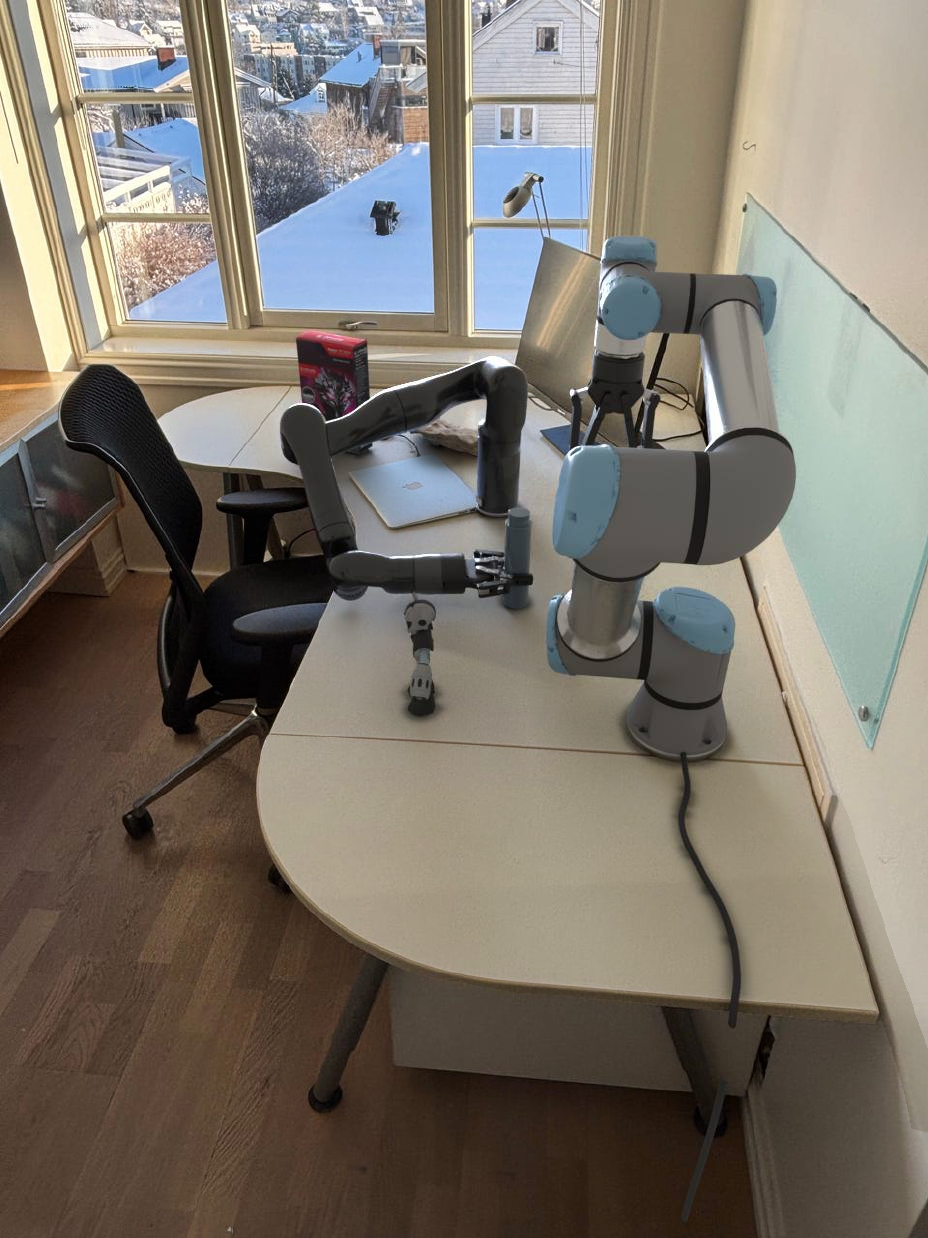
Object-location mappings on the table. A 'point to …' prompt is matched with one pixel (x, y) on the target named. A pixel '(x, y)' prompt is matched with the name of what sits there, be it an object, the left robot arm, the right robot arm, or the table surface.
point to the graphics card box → (333, 374)
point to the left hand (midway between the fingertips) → (530, 571)
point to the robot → (421, 655)
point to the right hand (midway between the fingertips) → (604, 494)
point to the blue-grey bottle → (517, 553)
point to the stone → (450, 436)
